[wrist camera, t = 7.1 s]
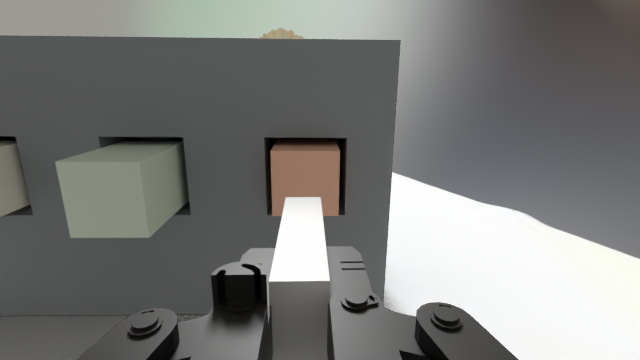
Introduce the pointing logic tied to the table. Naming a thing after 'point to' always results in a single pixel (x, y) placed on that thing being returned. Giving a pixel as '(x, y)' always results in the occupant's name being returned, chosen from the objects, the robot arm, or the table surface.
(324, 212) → the terracotta key
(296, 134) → the keypad panel
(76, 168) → the sage key
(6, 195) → the cream key
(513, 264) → the table surface
